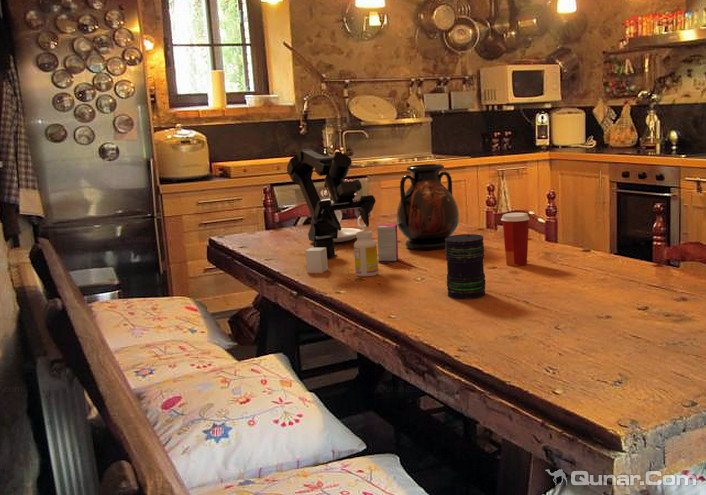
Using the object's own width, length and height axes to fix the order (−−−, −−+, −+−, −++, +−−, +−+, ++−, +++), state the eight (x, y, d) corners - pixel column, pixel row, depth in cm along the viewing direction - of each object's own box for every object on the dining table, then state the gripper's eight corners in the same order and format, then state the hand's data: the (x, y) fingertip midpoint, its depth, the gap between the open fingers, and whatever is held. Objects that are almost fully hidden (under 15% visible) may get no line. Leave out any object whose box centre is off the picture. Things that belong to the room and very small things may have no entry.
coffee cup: (533, 261, 229) (532, 212, 226) (527, 267, 222) (526, 216, 219) (505, 260, 233) (504, 212, 230) (499, 266, 225) (497, 216, 223)
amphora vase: (444, 238, 278) (440, 161, 273) (471, 247, 258) (468, 164, 253) (389, 245, 271) (384, 166, 266) (412, 255, 251) (408, 170, 246)
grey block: (307, 272, 235) (305, 250, 234) (313, 269, 240) (311, 247, 238) (322, 273, 233) (320, 250, 232) (327, 269, 238) (326, 247, 237)
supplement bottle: (381, 272, 229) (378, 230, 226) (374, 277, 223) (371, 234, 220) (359, 272, 231) (357, 230, 229) (352, 277, 225) (349, 234, 222)
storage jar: (476, 301, 189) (474, 241, 186) (440, 298, 194) (438, 240, 191) (491, 291, 197) (489, 234, 194) (456, 288, 202) (454, 233, 200)
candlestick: (383, 239, 284) (378, 164, 279) (322, 248, 274) (316, 170, 269) (358, 232, 303) (354, 162, 297) (300, 241, 292) (295, 168, 287)
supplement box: (396, 262, 242) (394, 226, 239) (378, 262, 243) (376, 227, 241) (399, 258, 247) (397, 223, 245) (381, 259, 248) (379, 224, 246)
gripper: (315, 174, 229) (331, 214, 221) (371, 168, 236) (389, 207, 228) (308, 198, 238) (323, 237, 230) (362, 192, 245) (379, 230, 237)
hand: (354, 227), depth 231 cm, fingers open, 9 cm apart
